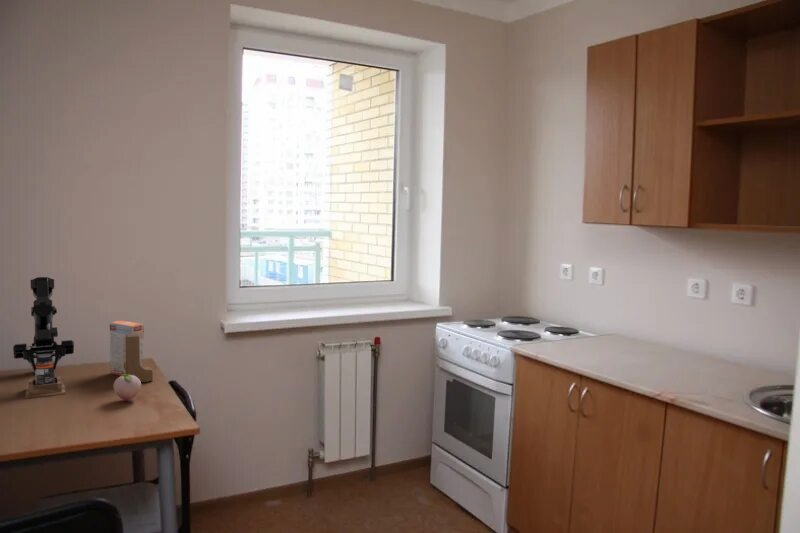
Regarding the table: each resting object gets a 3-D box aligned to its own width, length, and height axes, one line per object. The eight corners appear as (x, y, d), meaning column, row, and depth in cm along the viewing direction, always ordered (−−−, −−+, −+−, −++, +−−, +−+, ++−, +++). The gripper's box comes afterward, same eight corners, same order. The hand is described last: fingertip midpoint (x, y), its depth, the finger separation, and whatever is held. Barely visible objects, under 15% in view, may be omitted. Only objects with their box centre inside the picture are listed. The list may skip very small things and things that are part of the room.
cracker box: (145, 376, 240) (144, 323, 238) (131, 379, 235) (130, 326, 233) (123, 370, 247) (122, 319, 246) (109, 373, 242) (108, 321, 240)
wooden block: (151, 378, 237) (151, 332, 235) (152, 381, 233) (152, 335, 232) (126, 381, 233) (125, 334, 231) (127, 384, 229) (126, 336, 227)
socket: (26, 389, 220) (25, 379, 220) (64, 384, 226) (63, 375, 226) (25, 398, 210) (25, 388, 209) (65, 393, 216) (65, 383, 215)
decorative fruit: (146, 401, 210) (145, 372, 209) (121, 406, 204) (121, 377, 203) (134, 395, 216) (133, 367, 215) (110, 400, 210) (109, 371, 209)
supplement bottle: (46, 383, 222) (45, 352, 221) (59, 385, 220) (58, 354, 218) (31, 387, 216) (30, 356, 215) (44, 390, 214) (43, 358, 213)
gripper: (12, 321, 214) (12, 360, 206) (72, 318, 224) (75, 354, 215) (14, 339, 222) (14, 376, 213) (72, 335, 231) (74, 370, 223)
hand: (44, 369), depth 216 cm, fingers closed on supplement bottle, 6 cm apart
